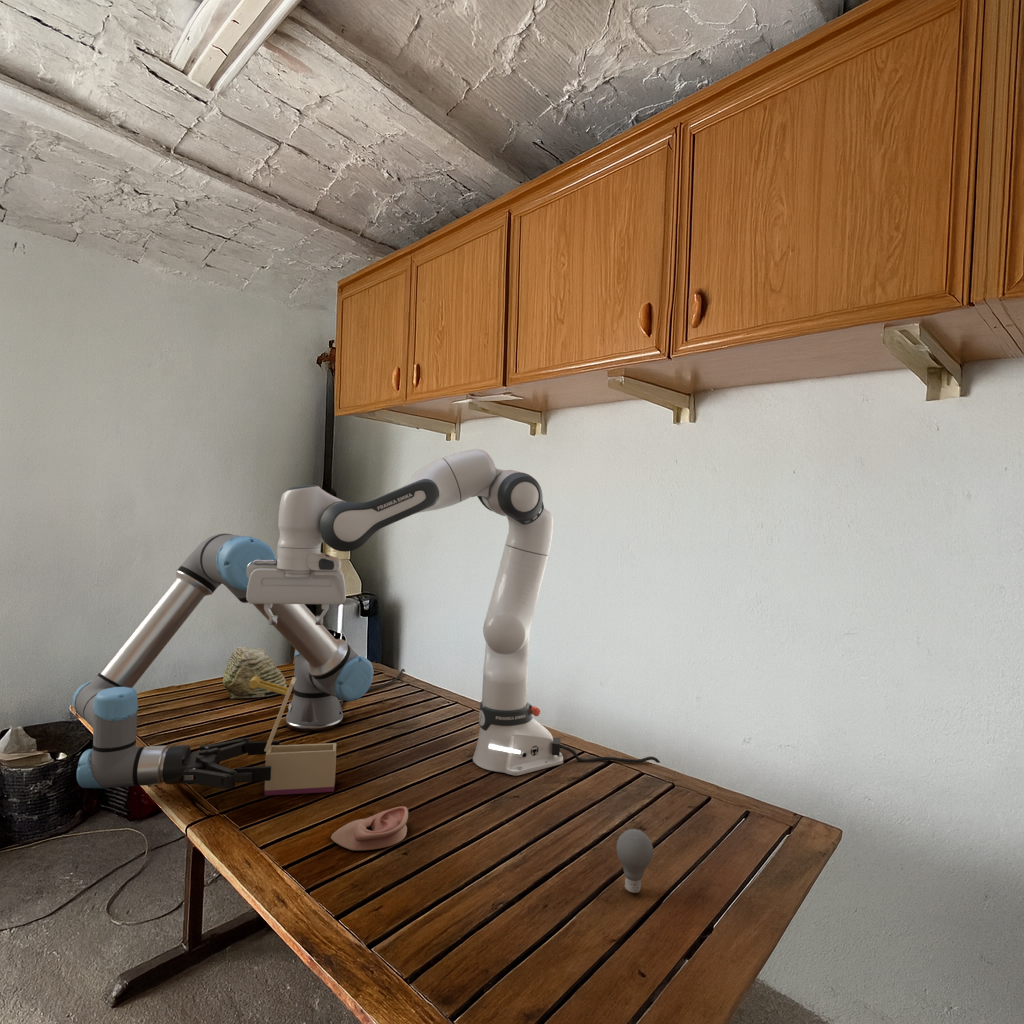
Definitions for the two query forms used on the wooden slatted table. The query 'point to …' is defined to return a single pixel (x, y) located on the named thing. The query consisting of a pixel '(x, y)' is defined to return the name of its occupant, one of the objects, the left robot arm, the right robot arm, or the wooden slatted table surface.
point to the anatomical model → (374, 830)
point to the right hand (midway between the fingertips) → (296, 624)
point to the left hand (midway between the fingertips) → (275, 759)
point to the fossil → (250, 673)
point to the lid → (278, 689)
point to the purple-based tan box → (301, 769)
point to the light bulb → (634, 857)
